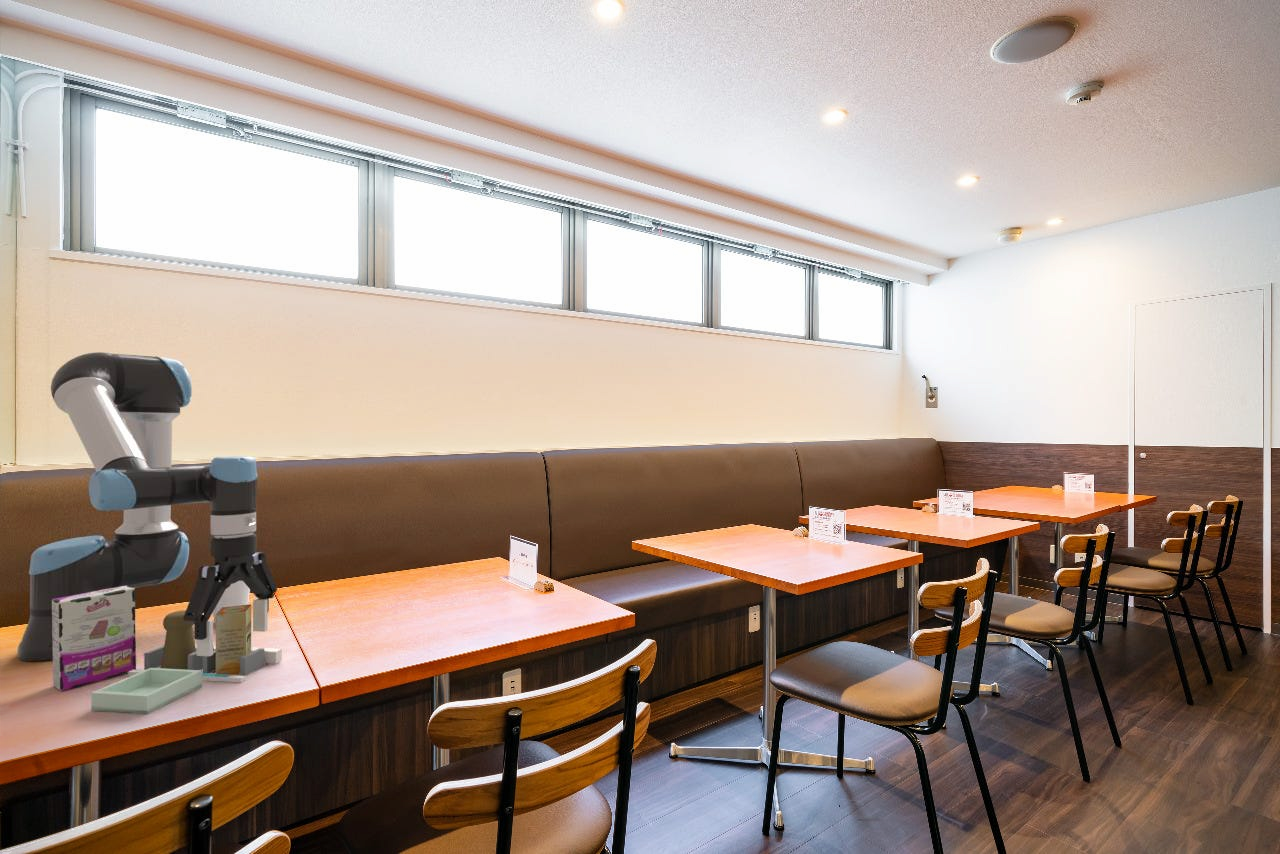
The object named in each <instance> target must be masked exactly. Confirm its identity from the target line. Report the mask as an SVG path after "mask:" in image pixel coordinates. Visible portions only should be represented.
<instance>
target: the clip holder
mask: <svg viewBox="0 0 1280 854" xmlns="http://www.w3.org/2000/svg"><path fill="white" fill-rule="evenodd" d="M195 646H196V652H194V653H191V654H189V655H188V670H202V681H211V682H212V681H213V682H229V683H230V682H231V683H242V682H244V681H246V677H247V676H248V675H250V674H251V673H253V672H255V671H257V670H260V669H261V668H263V667H265V664H270V665H271V664H272V665H273V664H274V665H277V664H278V663H279V662H282V658H283V657H282V656H283V654H282V652H283V651H282V650H283V649H282V648H271V647H269V648H268V647H264V648H263V647H252V646H251V653H249V654H247V655H245V656H243V657H241V658H240V674H239V675H238V674H233V675H231V674H216V673H213V672H214V671H215V672H216V645H213V655H212V656H197V644H195ZM163 650H164V645H163V644H162V645H161V646H158V647H156V648H153V649H150V650H148V651H146V652H145V651H144V653H143V654H144V655H143V656H144V659H143V660H144V661H143V662H144V663H143V664H144V665H143V667H144V668H143V669H136V670H131V671H129V672H128V673H127V676H128V677H130V676H132V675H135V674H137V673H139V672H142V671H144V670H146V669H149V668H160V667H161V662H162V656H163Z"/></svg>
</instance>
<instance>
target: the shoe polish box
mask: <svg viewBox="0 0 1280 854" xmlns="http://www.w3.org/2000/svg"><path fill="white" fill-rule="evenodd" d="M215 646H216V670H215V674H231V675H240V658H241V657H243V656H245V655H247V654H249V653H251V647H252V604H250V603H249V604H248V605H240V606H230V607H222V608H221V609H220V610H219V611H218V612H217V613H216V624H215Z"/></svg>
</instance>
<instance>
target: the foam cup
mask: <svg viewBox="0 0 1280 854" xmlns="http://www.w3.org/2000/svg"><path fill="white" fill-rule="evenodd" d="M219 582H221V581H220V580H219ZM250 593H251V590H250V589H249V588H248V586H247V585H246V584H245V583H244V582H243V581H238V582H236V583H233V584H231V585H230V587H228V588H226V590H225V591H224V593H223V595H222V597H221V598H220V600H219V602H218V604H217V606H216V607H215V609H214V611H213V613H212V617H213V622H214V624H215V625H216V613H217V612H218V611H219V610H220V609H221V608H222V607H230V606H240V605H249V600H250V599H249V598H250Z"/></svg>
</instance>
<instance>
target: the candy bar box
mask: <svg viewBox="0 0 1280 854" xmlns="http://www.w3.org/2000/svg"><path fill="white" fill-rule="evenodd" d="M135 589H136V588H132V587H129V586H121V587H115V588H110V589H104V590H99V591H93V592H88V593H83V594H78V595H72V596H67V597H62V598H56V599H52V636H53V660H52V682H53V683H52V685H53V687H54V688H55V689H57V691H59V692H66V691H69V690H73V689H77V688H80V687H83V686H87V685H90V684H91V685H92V684H94V683H97V682H101V681H105V680H108V679H112V678H116V677H118V676H119V677H120V676H122V675H125V674H128V672H129V671H131V670H137V649H136V648H137V647H136V645H137V639H136V638H137V637H136V590H135Z"/></svg>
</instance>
